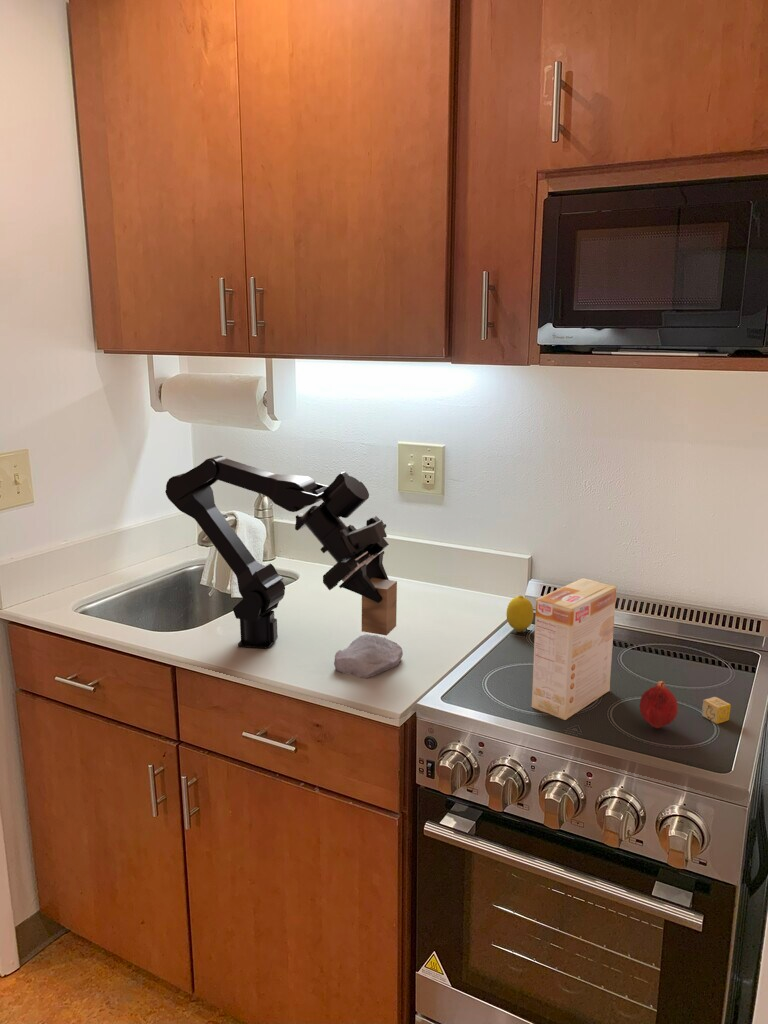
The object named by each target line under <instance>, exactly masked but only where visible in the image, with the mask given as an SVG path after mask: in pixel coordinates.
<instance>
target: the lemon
mask: <svg viewBox="0 0 768 1024" xmlns="http://www.w3.org/2000/svg"><path fill="white" fill-rule="evenodd" d="M534 617H535V614H534V607H533V604H532V602H531V601H530V600H529V599H528V598H527V597H524V595H521V594H520V595H518V596H516V597H514V598H512V599H511V600H510V601H509V602H508V604H507V608H506V621H507V622H508V625H509V627H511V628H512V629H514V630H516V631H517V632H518V633H521V632H522V631H524V630H527V629H528V628H529V627H531V625H532V623H533V621H534Z"/></svg>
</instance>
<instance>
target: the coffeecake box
mask: <svg viewBox="0 0 768 1024" xmlns="http://www.w3.org/2000/svg"><path fill="white" fill-rule="evenodd" d="M617 589H618V588H617V586H616V585H611V584H607V583H602V582H600V581H596V580H594V579H589V578H584V577H583V578H579V579H578V580H575V581H573V582H571V583H568V584H567V585H564V586H562V587H559V588H558V589H555V590H553V591H552V592H549V593H547V594H545V595H542V596H541V597H538V598H536V599H535V614H534V617H535V618H534V641H533V643H534V644H533V646H534V647H533V666H532V687H531V688H532V690H531V691H532V694H531V708H533V709H535V710H537V711H541V712H542V713H545V714H546V713H547V714H549V715H552V716H553V717H556V718H558V719H561V720H564V721H566V720H568V719H569V718H571V717H572V716H574V715H575V714H577V713H578V712H579V711H581V710H583V709H584V708H586V707H587V706H588V705H590V704H592V703H593V702H595V701H596V700H598V699H599V698H601V697H602V696H603V695H605V694H607V693H608V692H610V690H611V688H610V687H611V673H612V657H613V645H614V644H613V642H614V630H615V629H614V627H615V611H616V597H617Z"/></svg>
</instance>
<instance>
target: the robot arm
mask: <svg viewBox="0 0 768 1024" xmlns="http://www.w3.org/2000/svg"><path fill="white" fill-rule="evenodd" d="M218 481H221V482H223V483H226V484H230V485H233V486H235V487H238V488H242V489H244V490H247V491H251V492H254V493H257V494H261V495H262V496H265V497H267V498H268V499H270V501H272V503H273V504H274V505H277V506H278V507H280V508H282V509H283V510H286V511H288V512H292V513H296V512H299V511H301V510H303V509H305V508H308V507H310V508H308V510H306V512H305V513H299V514H296V515H295V525H294V529H295V530H296V531H300V530H301V529H303V528H305V527H306V528H308V530H309V532H311V534H313V536H314V537H315V538H316V539H317V540H318V542H319V543H320V544H321V545H322V547H321V548H320V551H321V552H322V553H323V554H325V553H327V552H328V553H329V555H330V556H331V557H332V558H333V560H334V561H335V562H336V563H335V564H334V565H333V566H332V567H330V569H329V570H328V571H326V573H324V574H323V575H322V584H323V585H324V586H325V587H326V588H327V590H328V591H331V590H332V589H334V588H336V586H338V584H339V583H340V582H341V581H342V583H341V584H340V585H339V586H338V587H339V588H340V589H342V588H343V589H346V590H348V591H350V592H353V593H355V594H358V595H360V596H361V597H362V596H364V597H366V598H369V599H371V600H373V601H375V602H377V603H379V602H380V601H382V597H381V595H380V594H379V592H378V591H377V589H376V588H375V586H374V585H373V584H372V582H371V581H370V579H371V578H378V579H385V580H390V579H389V577H388V574H387V572H386V570H385V567H384V564H383V561H384V560H383V559H384V555H385V549H386V548H387V547H388V546H389V543H388V541H387V540H386V539H385V538H387V537H388V535H387V531H386V530H385V529H386V528H387V524H386V523H385V522H383V520H382V519H380V517H378V516H377V515H375V516H373V517H370V518H369V519H366V525H365V526H362V527H361V528H358V529H356V527H355V526H354V525H352V524H349V525H348V526H347V524H345V523H344V522H343V520H342V519H347V518H349V517H351V515H353V514H354V513H355V511H356V510H357V509H359V507H361V506H362V505H363V504H364V503H365V502H366V501H367V500H368V499H369V498H370V493H369V490H368V488H367V487H366V486H365V484H364V483H363V482H362V481H359V479H357V478H356V477H354V476H351V475H349V473H347V472H346V471H342V472H341V473H339V474H338V475H337V476H336V477H335V478H334V480H333V481H332V482H331V483H330V484H329V485H326V484H321V483H318V482H316V480H315V479H314V478H312V477H310V476H308V475H300V474H279V473H274V472H270V471H267V470H264V469H261V468H257V467H255V466H251V465H249V464H246V463H242V462H239V461H235V460H232V459H230V458H228V457H226V456H223V455H216V456H212V457H210V458H207V459H205V460H204V461H202V462H201V463H200V464H198V465H197V466H195V467H193V468H191V469H190V470H188V471H186V472H183V473H180V474H177V475H174V476H171V477H170V478H169V479H168V480H167V482H166V485H165V495H166V497H167V499H168V500H169V501H170V502H171V504H173V506H175V507H176V509H178V510H179V511H180V512H182V513H184V515H185V514H186V515H187V516H189V517H190V518H192V519H194V520H195V521H196V523H197V524H198V526H199V527H200V528H201V530H202V531H203V533H204V534H205V535H206V536H207V538H208V539H209V541H210V542H211V544H213V546H214V548H215V549H216V551H218V553H219V554H220V555H221V557H222V559H223V560H224V561H225V563H226V564H227V565H228V567H229V568H230V569H231V571H232V572H233V574H234V575H235V577H236V580H237V587H238V592H239V594H240V596H241V598H242V599H241V600H240V601H239V602H238V603H237V604H236V605H235V606H234V607H233V608H232V611H233V613H234V616H235V617H234V618H236V619H237V620H239V627H240V628H239V629H240V632H239V633H240V641H239V642H238V643H237V646H238V647H242V648H255V649H258V648H259V649H270V648H271V646H272V645H273V644H274V642H275V641H276V640H277V638H278V636H279V635H278V619H277V618H275V611H274V610H275V609H277V608H278V606H279V604H280V603H279V602H281V601H282V600H283V599H284V597H285V591H286V586H285V584H284V582H283V580H284V577H283V576H282V575H280V574H279V573H278V572H277V570H276V568H275V566H274V565H273V564H272V563H268V564H266V565H263V564H261V563H259V561H257V560H256V559H255V558H254V556H253V555H252V553H251V552H250V551H249V549H248V548H247V546H246V545H245V544H244V542H243V541H242V540H241V538H240V537H239V536H238V534H237V533H236V531H235V530H234V529H233V527H232V526H231V525H230V523H229V522H228V520H226V518H225V517H224V515H223V513H222V512H221V511H220V510H219V509H218V508H219V507H217V506H216V504H215V503H216V502H215V497H214V491H213V489H212V486H213V485H214V484H216V483H217V482H218ZM320 501H322V502H321V503H320V504H319V505H314V504H316V503H319V502H320ZM341 518H342V519H341Z"/></svg>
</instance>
